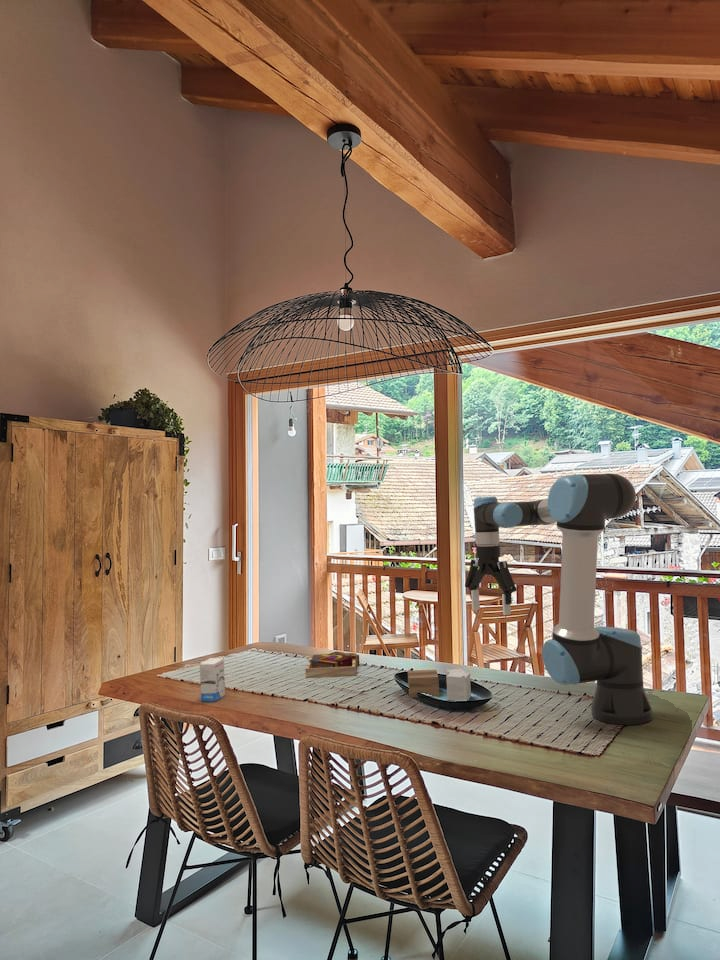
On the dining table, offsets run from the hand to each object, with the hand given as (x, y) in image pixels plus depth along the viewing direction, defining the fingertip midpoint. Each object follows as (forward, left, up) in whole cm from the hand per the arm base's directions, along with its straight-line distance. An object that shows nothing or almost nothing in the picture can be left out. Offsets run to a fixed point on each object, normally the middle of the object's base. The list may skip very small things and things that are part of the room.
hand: (491, 612), depth 219 cm
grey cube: (0, +12, -23) cm, 26 cm away
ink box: (-1, +89, -23) cm, 92 cm away
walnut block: (-5, +23, -23) cm, 33 cm away
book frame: (+30, +53, -23) cm, 65 cm away
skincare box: (-13, +13, -23) cm, 30 cm away
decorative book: (+30, +52, -24) cm, 65 cm away
